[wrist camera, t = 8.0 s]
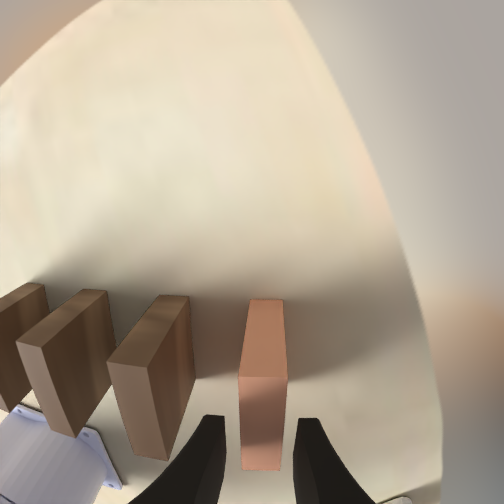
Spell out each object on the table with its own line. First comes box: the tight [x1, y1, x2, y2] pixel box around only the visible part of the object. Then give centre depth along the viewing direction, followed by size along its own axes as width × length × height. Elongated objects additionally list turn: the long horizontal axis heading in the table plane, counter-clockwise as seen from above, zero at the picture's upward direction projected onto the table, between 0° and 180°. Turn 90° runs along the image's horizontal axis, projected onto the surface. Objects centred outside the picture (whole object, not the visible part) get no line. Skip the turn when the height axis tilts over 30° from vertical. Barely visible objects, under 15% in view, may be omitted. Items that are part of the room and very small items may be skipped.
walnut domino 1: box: [0, 283, 50, 413], centre depth 13 cm, size 2×5×6 cm, turn 179°
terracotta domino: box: [238, 299, 288, 471], centre depth 13 cm, size 2×5×6 cm, turn 0°
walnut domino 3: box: [106, 295, 196, 461], centre depth 13 cm, size 2×5×6 cm, turn 0°
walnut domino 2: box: [16, 289, 117, 439], centre depth 13 cm, size 2×5×6 cm, turn 179°
